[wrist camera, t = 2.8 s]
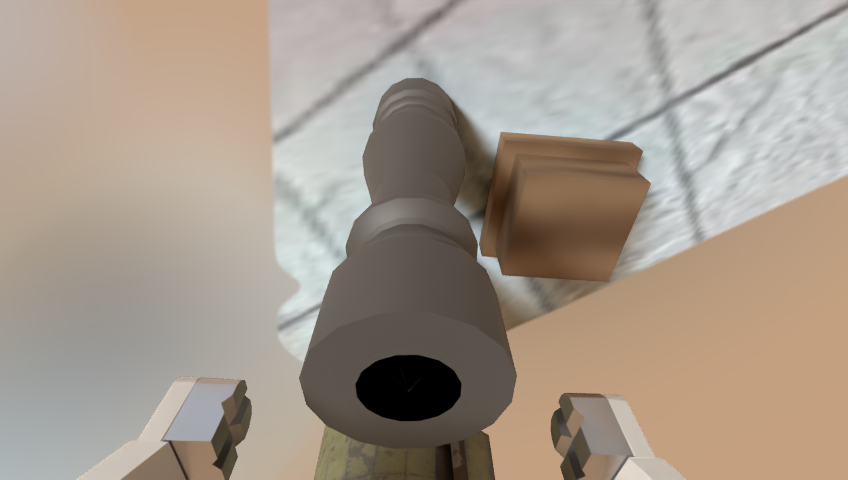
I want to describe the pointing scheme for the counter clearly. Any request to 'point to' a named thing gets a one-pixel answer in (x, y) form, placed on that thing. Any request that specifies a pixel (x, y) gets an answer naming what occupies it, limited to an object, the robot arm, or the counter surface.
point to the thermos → (403, 460)
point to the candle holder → (410, 295)
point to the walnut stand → (561, 205)
